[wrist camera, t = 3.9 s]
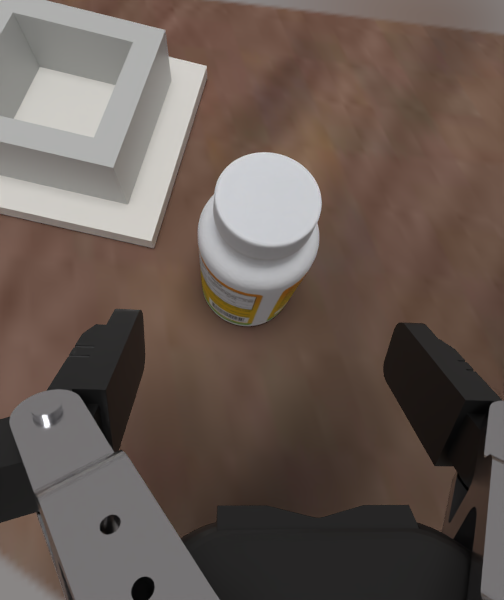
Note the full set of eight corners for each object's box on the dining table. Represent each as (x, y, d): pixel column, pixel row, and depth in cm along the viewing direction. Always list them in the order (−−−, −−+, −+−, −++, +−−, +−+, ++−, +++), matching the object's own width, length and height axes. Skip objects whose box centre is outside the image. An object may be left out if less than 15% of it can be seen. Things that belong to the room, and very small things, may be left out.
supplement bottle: (276, 238, 24) (317, 126, 15) (299, 317, 22) (361, 249, 13) (193, 253, 23) (181, 144, 14) (211, 336, 21) (211, 278, 12)
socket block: (207, 78, 27) (205, 15, 23) (154, 248, 23) (140, 210, 18) (15, 31, 26) (-23, -43, 22) (-77, 196, 22) (-146, 144, 18)
